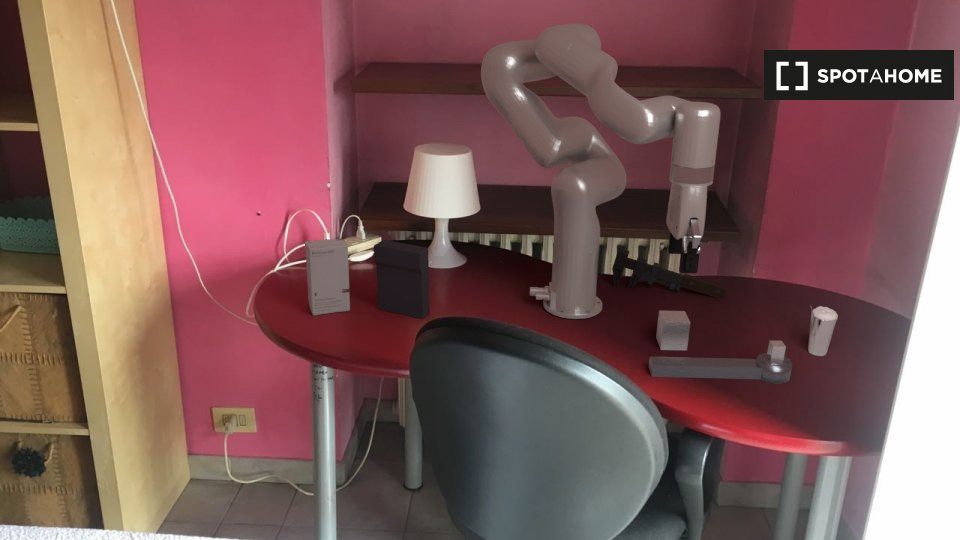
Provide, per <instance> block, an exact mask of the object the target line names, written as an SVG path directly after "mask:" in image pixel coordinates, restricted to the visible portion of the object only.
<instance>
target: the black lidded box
mask: <svg viewBox="0 0 960 540" xmlns="http://www.w3.org/2000/svg"><path fill="white" fill-rule="evenodd" d="M373 257H374V259H373V260H374V264H375V266H376V285H377V288H376V289H377V305H378V306H377V307H378V309H379V310H381V311H385V312H389V313H395V314H398V315H403V316H407V317H411V318H416V319H419V320H421V319H422V320H423V319H424V318H426V316H428V315H429V314H430V311H431V309H430V271H429V269H430V265H429V262H430V261H429V248H428V247H426V246H421V245H420V246H419V245H415V244H408V243H403V242H399V241H391V240H386V239H383V240H381V241H379V242H377V243H375V244H374V245H373Z"/></svg>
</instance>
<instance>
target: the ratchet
mask: <svg viewBox="0 0 960 540" xmlns="http://www.w3.org/2000/svg"><path fill="white" fill-rule="evenodd" d="M767 346H768V347H767V352H763V353H760V354H758V355H757V357H756V358H730V357H727V358H725V357H693V356H692V357H689V356H687V357H683V356H682V357H681V356H679V357H678V356H649V360H648V371H649V373H650V376H651V377H654V378H655V377H657V378H687V379H688V378H691V379H692V378H694V379H698V378H699V379H730V380H731V379H735V380H739V379H740V380H761V381H763V382H766V383H768V384H769V383H771V384H775V385H776V384H777V385H778V384H779V385H780V384H781V385H782V384H785V383H788V382H789V381H790V378H791V373H792V368H793V362H792V360H791V358H789V357H787V356H786V355H785V354H786V348H787V346H786V344H785V343H784V342H783V340H771V339H770V340H769V341H768V345H767Z"/></svg>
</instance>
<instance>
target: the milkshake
mask: <svg viewBox="0 0 960 540" xmlns="http://www.w3.org/2000/svg"><path fill="white" fill-rule="evenodd" d="M809 308H810V309H811V316H810V327H809V338H808V344H807V351H808V353H810V354H811V355H813V356H815V357H816V356H817V357H824V356H826V355H827V353H828V350H829V346H830V343H831V340H832V337H833V333H834V330H835V327H836V324H837V320H838V316H839V315H838V313H837V311H835V310H834V309H832V308H829V307H827V306H823V305H822V306H821V305H819V306H817V307H815V308H813V307H812V305H811V304H810V307H809Z"/></svg>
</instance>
